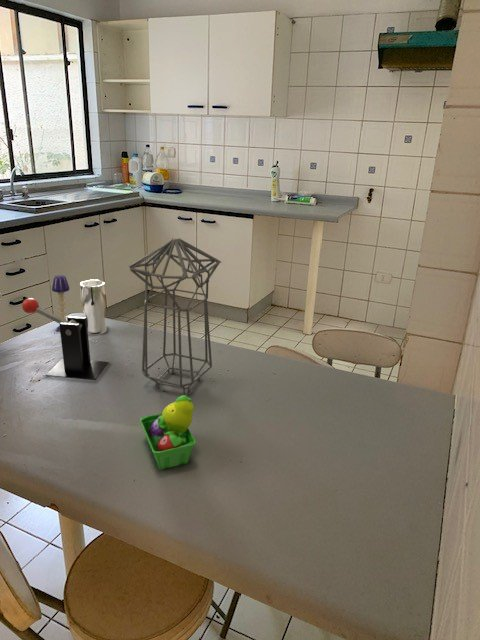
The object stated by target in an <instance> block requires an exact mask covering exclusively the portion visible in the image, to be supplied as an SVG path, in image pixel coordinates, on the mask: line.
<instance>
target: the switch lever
mask: <svg viewBox="0 0 480 640" xmlns="http://www.w3.org/2000/svg"><path fill="white" fill-rule="evenodd" d="M21 309H22V310H23V311H24V312H25V313H26V314H29V315H31V314H35V313H37V314H39V315H41V316H43V317H44V318H47V319H49V320H51V321H53V322H55V323H57V324H58V325H59V324H60V323H61V322H62V323H75V324H80V331H81V328H82V326H83V324H81V323H79V322H77V321H75V320H73V319H72V320H71V321H69V322H68V321H67V319H66V320H64V319H62V318H60V316H58V315H56V314H54V313H52V312H50V311H48V310H46V309H44V308H42V307H40V304H39V301H37V299H35V298H34V297H33V298H32V297H28V298H25V299H24V300H23V301H22V303H21Z"/></svg>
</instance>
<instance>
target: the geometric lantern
mask: <svg viewBox="0 0 480 640" xmlns="http://www.w3.org/2000/svg"><path fill="white" fill-rule="evenodd" d="M174 248H175V250H176V253H177V255H176V254H174V253H173V251H174ZM192 251H194V252H195V253H197V254H199V255H201V256H203V257H205V258H198V257H197V256H196V255H195V253H193V252H192ZM182 253H183V255H184V256H185V257H183V255H182ZM166 256H167V258H166V261H165V264H164V267H163V270H162V273H161V274H160V273H156V271H157V269H158V267H159V266H160V265H161V263H162V262H163V260H164V258H165V257H166ZM191 258H192V259H191ZM177 259H178V260H177ZM170 260H171V261H173V262H174V263H175V264H177V265H178V266H179V267H180V268H181V271H182V274H181V275H166V272H167V269H168V266H169V263H170ZM185 261H186V262H187V263H188V264H187V267H186V265H185ZM203 262H204V263H205V262H208V263H207V264H206V265H204V264H202V263H203ZM195 263H197V264H198V267H197V266H196V265H195ZM221 263H222V261H221V260H219V259H218V258H217V257H214V256H212V255H210V254H209V253H206V252H205V251H203V250H202V249H200V248H198V247H196V246H195V245H193V244H190V243H188V242H187V241H185V240H183V239H182V238H171V239H170V240H169V241H167V242H165V243H163V245H161V246H159V247H158V248H157V249H155V250H153V251H151V252H149V253H148V254H146V255H144V256H143V257H141V258H140V259H138V260H136V261H135V262H133V263H131V264H130V265H129V266H128V267H127V268H128V270H129V271H130V272H131V273H132V274H133V275H135V276H136V277H137V278H139V280H141V281H142V282H143V283H144V284H145V286H144V303H143V308H144V310H143V330H142V331H143V334H142V335H143V336H142V355H141V356H142V357H141V358H142V359H141V374H142V376H144V378H146V379H149V380H150V381H152V382H154V383H155V387H157V388H158V389H160V385H161V386H167V387H171V388H175V389H181V390H182V391H183V392H182V394H183V395H185V396H190V395H191V393H192V392H193V391H194V389H192V390H191V391H190V387H192V386H193V385H194V384H195V383H196V382H197V381H198V382H200V381H201V378H202V377H203V376H204V375H205V374H206V373H207V372H208V371H209V370H211V369H212V368H213V360H212V348H211V335H210V334H211V333H210V320H209V309H208V308H209V306H208V299H209V283H210V279H211V277H212V276H213V274H214V273H215V271H216V269H217V268H218V266H219V265H220V264H221ZM151 266H152V268H151V269H152V270H151V271H148V269H147V267H151ZM141 267H144V269H139V268H141ZM208 267H209V268H208ZM190 269H191V270H190ZM188 273H190V274H192V275H191V276H188V275H189V274H188ZM204 273H206V274H207V277H206V278H205V280H204V281H203V274H204ZM144 277H145V278H144ZM152 277H156V279H157V280H158V281H159V283H160V284H161V285H154V284H153V278H152ZM148 279H149V280H148ZM164 279H176V280H174V281H171V282H170V283H168V284H164V283H165V282H164ZM187 279H189V280H190V279H192V281H193V282H194V283H195V286H196V289H195V291H189V290H185V289H178V286H179V285H180V283H181V282H182V281H185V280H187ZM173 285H174V287H173V288H169V287H172V286H173ZM204 285H205V291H204V288H203V287H204ZM148 287H149V288H150V291H149V293H148V289H149V288H148ZM199 288H200V290H201V292H198V290H199ZM155 289H156V290H160V291H159V292H157V293H155V294H153V295H151V294H152V292H153V291H154V290H155ZM171 292H172V293H171ZM176 292H181V293H187V294H193V295H192V297H191V298H190V301H189V302H188V304H187V306H186V307H185V308H182V307H180V305H179V303H178V302H177V301H176ZM162 293H164V305H161V304H156V303H151V302H148V301H149V300H151V299H153V298H155V297H157V296H159V295H160V294H162ZM196 295H199V296H203V299H202V300H201V301H199V302H197V303H196V304H194V305H193V306H191V307H190V305H191V303H192V302H193V299H194V298H195V296H196ZM168 296H169V297H170V299H171V301H172V307H171V306H168ZM202 303H203V310H204V311H203V312H204V316H203V317H204V318H203V319H204V355H205V356H204V358H205V359H204V358H201V357H196V356H195V357H194V356H193V353H192V352H193V351H192V339H191V338H192V337H191V336H192V335H191V322H190V311H191V310H193V309H194V308H196V307H198V306H199V305H201V304H202ZM148 306H153V307H158V308H163V309H164V311H163V313H164V314H163V315H164V316H163V317H164V318H163V344H162V355H161V356H159V357H158V358H157V359H155V360H154V361H153V362H152V363H150V364H149V365H148ZM167 309H169V310H172V338H173V339H172V342H173V344H172V345H173V349H172V350H173V352H169V353H166V344H167V341H166V340H167V313H168V312H167V311H168V310H167ZM176 311H177V334H178V335H177V336H178V340H177V339H176V337H177V336H176ZM181 312H186V327H187V339H188V340H187V342H188V352H189V353H188V355H185V354H182V325H181ZM176 340H177V341H178V353H177V351H176V349H177V346H176ZM169 356H173V357H172V364H171V366H170V365H169V362H168V359H167V357H169ZM176 356H177V357H178V367H175V359H176ZM163 358H164V361H165V364H166V367H167V369H166V370H165V371H164V372H163V373H162V374H161V375H160V376H159V377H155V376H152V375H150V374H149V373H148V370H149V369H151V368H152V367H153V366H154V365H156V364H157V363H158V362H160V361H161V360H162V359H163ZM182 358H186V359H189V369H186V368H185V369H184V368H183V366H182V365H183V364H182ZM193 360H195V361H199V362H203V364H202V365H201V367H200V368H199V369H198V371H196V370H194V368H193V367H194V365H193ZM206 364H207V365H208V367H207V368H205V369H204V370H203V368H204V366H205V365H206ZM170 370H171V374H170ZM175 370H176V371H178V372H179V373H174V371H175ZM202 370H203V371H202ZM183 372H188V373H190V376H186V375H183ZM166 373H167V374H170V375H171V376H173V375H175V376H179V383H178V382H177V383H176V382H173V381H170V380H166V379H163V378H162V377H163V376H164V375H165V374H166ZM194 373H195V374H196V377H194ZM183 377H185V378H190V380H191V381H190V382H186V383H183ZM186 390H187V394H186ZM162 392H164V393H169V394H173V395H178V396H182V394H180V393H176V392H172V391H169V390H163V391H162Z"/></svg>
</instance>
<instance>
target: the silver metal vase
mask: <svg viewBox="0 0 480 640" xmlns="http://www.w3.org/2000/svg"><path fill="white" fill-rule="evenodd" d="M79 287H80V289H79V294H80V295H79V296H80V304H81V308H82V311H83V315H84V317H87V327H88V335H93V336H100V335H103V334H106V332H107V331H108V328H107V325H106V312H107V311H106V310H107V292H106V285H105V282H104V280H100V279H87V280H84V281H81V282H80V283H79Z"/></svg>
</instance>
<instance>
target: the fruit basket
mask: <svg viewBox="0 0 480 640" xmlns="http://www.w3.org/2000/svg"><path fill="white" fill-rule="evenodd" d="M185 395H186V394H185ZM185 395H184V394H181V395H179V396H178V397H177V398H176V399H175V401H173V402H171V403H169V404H168V405H166V406H165V407H164V409H163V411H162V413H157V414H152V415H147V416H143V417H141V418H140V419H139V421H140V424H141V427H142V429H143V431H144V434H145V437H146V441H147V443H148V445H149V447H150V450H151V452H152V454H153V457H154V459H155V462H156V464H157V467H158V469H159V470H164V469H166V468H172V467H176V466H180V465H183V464H188V463H189V460H190V458H191V454H192V451H193V448H194V446H195V444H196V439H195V438H194V436H193V435H192V433H191V431H190V429H189V428H190V426H191V424H192V421H193V413H194V409H195V406H194V404H193V402H192V399H191V398H190V397H188V395H186V396H185Z"/></svg>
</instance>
